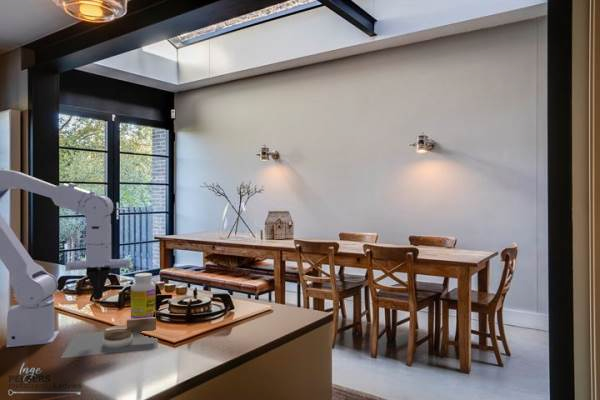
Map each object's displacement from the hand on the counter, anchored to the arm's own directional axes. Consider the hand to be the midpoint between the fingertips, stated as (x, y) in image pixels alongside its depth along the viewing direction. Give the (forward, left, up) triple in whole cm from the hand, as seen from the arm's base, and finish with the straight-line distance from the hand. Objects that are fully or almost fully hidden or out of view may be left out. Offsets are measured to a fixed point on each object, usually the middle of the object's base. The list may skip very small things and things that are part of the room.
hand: (99, 297), depth 105 cm
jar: (+5, -7, -10) cm, 13 cm away
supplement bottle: (+10, +12, -10) cm, 19 cm away
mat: (+4, -5, -10) cm, 12 cm away
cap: (+8, -7, -8) cm, 13 cm away
